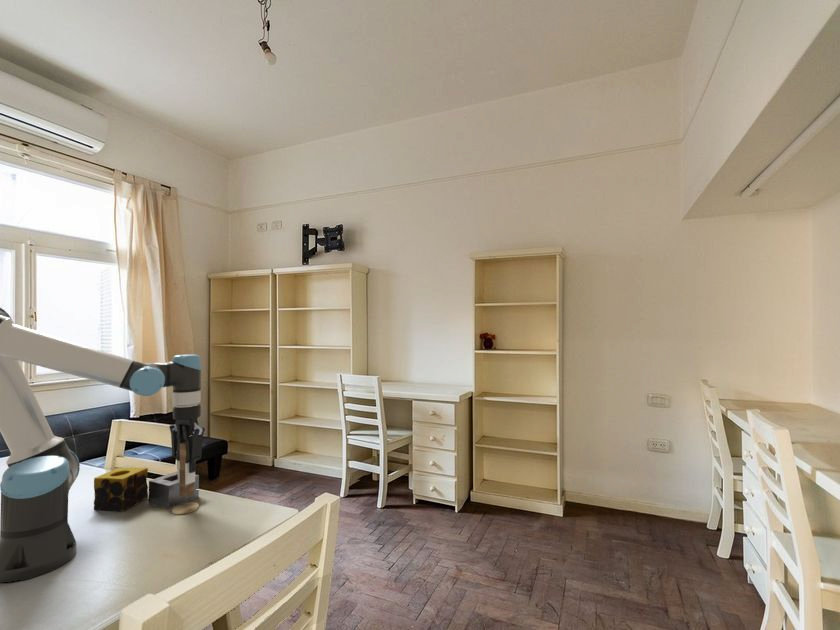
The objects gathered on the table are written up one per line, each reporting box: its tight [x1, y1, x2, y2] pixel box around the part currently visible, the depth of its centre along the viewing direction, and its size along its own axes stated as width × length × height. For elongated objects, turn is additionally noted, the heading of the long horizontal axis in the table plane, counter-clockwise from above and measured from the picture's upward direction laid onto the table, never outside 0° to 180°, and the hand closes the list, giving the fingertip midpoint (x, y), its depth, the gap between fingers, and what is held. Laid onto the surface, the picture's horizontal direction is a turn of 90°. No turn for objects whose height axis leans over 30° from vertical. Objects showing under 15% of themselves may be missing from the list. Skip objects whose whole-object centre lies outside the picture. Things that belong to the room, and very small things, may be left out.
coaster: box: [171, 502, 199, 516], centre depth 124 cm, size 7×7×1 cm
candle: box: [93, 466, 149, 512], centre depth 128 cm, size 10×10×10 cm
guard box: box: [148, 470, 200, 510], centre depth 131 cm, size 10×10×7 cm
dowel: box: [179, 442, 194, 498], centre depth 125 cm, size 3×3×16 cm
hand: (186, 481), depth 125 cm, fingers closed on dowel, 3 cm apart
